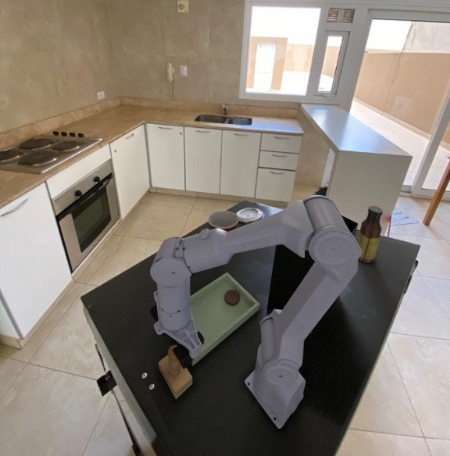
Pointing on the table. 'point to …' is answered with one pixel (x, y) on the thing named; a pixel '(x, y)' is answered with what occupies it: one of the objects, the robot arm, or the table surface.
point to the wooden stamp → (175, 373)
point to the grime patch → (232, 297)
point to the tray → (219, 312)
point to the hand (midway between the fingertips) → (176, 347)
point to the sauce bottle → (370, 234)
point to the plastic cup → (223, 220)
